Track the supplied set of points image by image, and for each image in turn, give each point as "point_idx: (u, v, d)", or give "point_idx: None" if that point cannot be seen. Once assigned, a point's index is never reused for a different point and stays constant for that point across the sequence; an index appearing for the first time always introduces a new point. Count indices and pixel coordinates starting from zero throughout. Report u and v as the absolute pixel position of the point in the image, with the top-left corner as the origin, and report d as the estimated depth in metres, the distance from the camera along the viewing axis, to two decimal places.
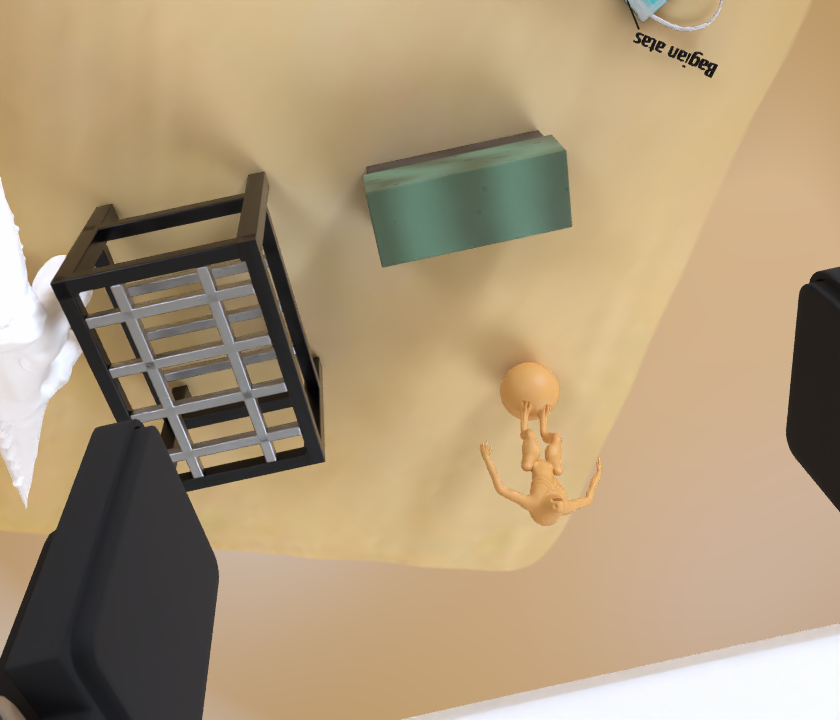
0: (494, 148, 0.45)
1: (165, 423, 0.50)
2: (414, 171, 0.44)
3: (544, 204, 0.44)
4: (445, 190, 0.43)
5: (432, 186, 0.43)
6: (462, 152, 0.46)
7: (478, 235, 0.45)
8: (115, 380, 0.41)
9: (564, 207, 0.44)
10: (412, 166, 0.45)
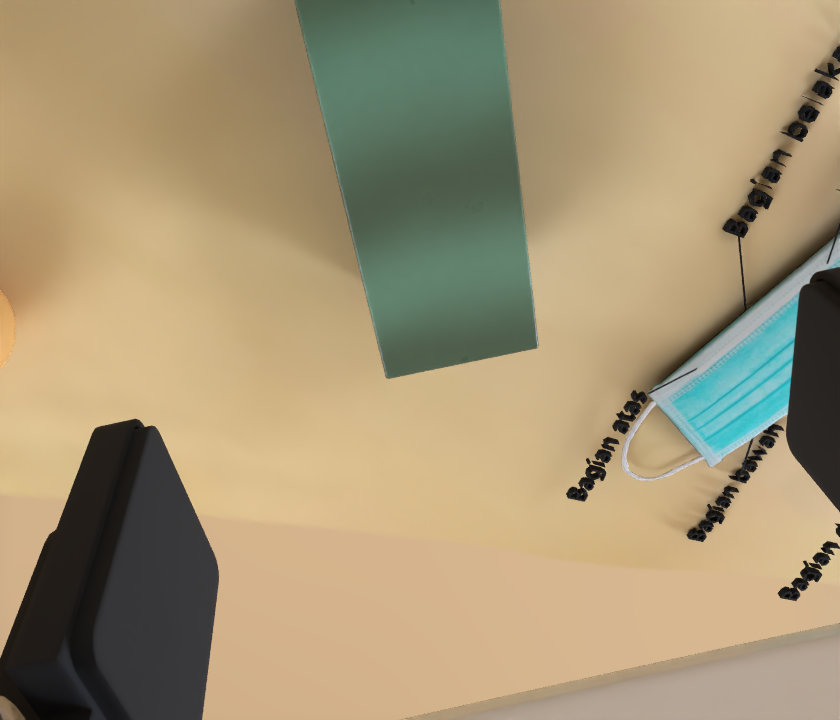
0: None
1: None
2: None
3: (435, 326, 0.22)
4: (482, 124, 0.19)
5: (493, 92, 0.19)
6: None
7: (372, 203, 0.20)
8: None
9: (427, 360, 0.23)
10: None
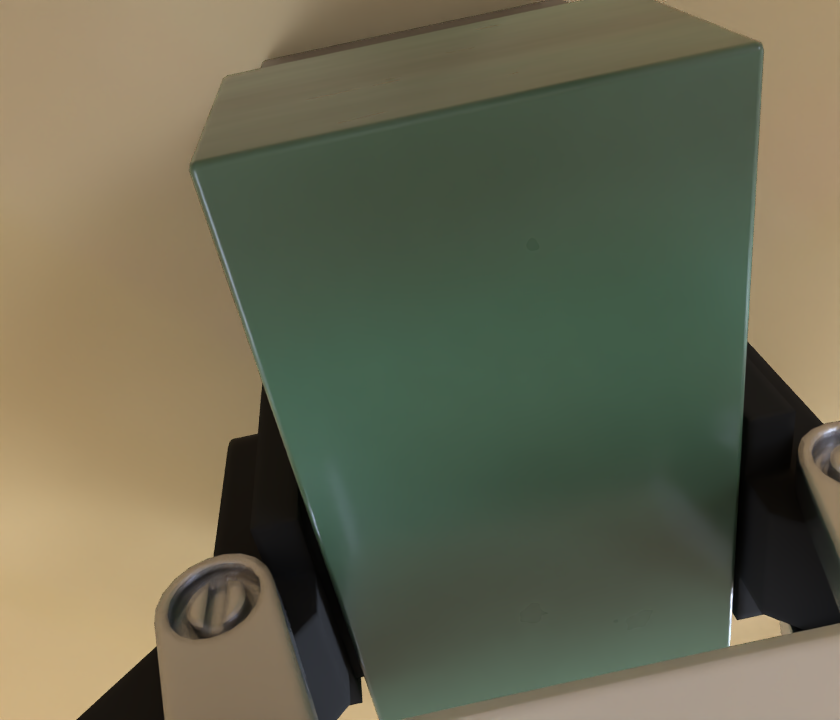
0: None
1: None
2: None
3: None
4: (671, 482, 0.08)
5: (706, 422, 0.08)
6: None
7: (412, 628, 0.09)
8: None
9: None
10: None
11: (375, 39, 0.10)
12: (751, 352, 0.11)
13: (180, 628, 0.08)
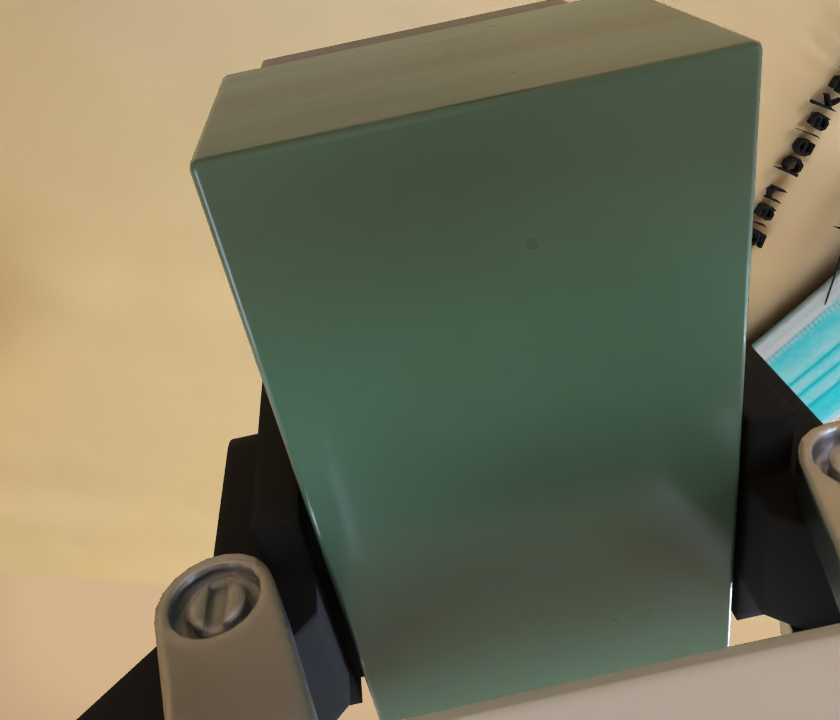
0: None
1: None
2: None
3: None
4: (670, 480, 0.08)
5: (705, 421, 0.08)
6: None
7: (412, 627, 0.09)
8: None
9: None
10: None
11: (375, 39, 0.10)
12: (751, 352, 0.11)
13: (180, 628, 0.08)
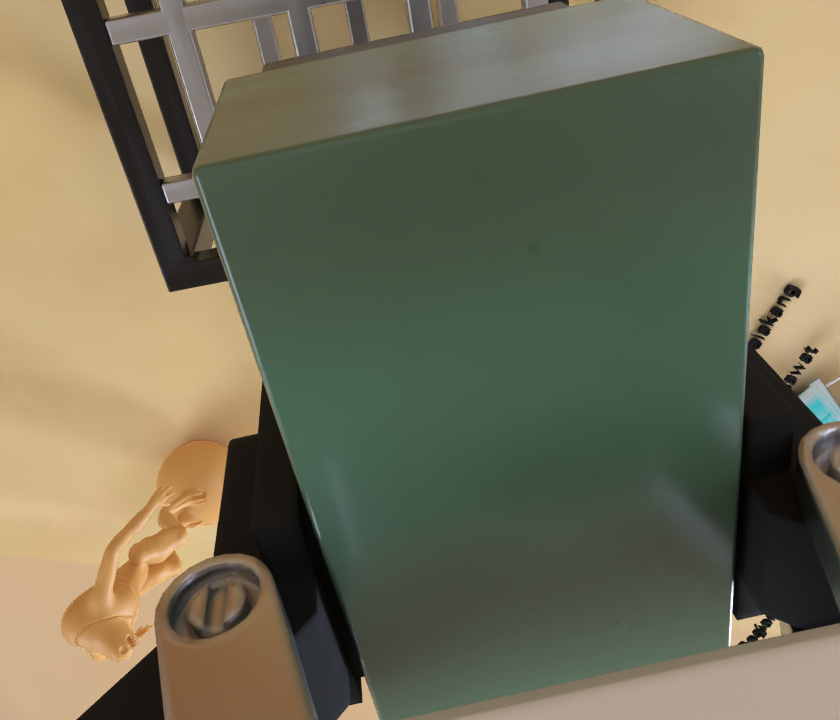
0: None
1: None
2: None
3: None
4: (671, 484, 0.08)
5: (706, 425, 0.08)
6: None
7: (413, 630, 0.09)
8: None
9: None
10: None
11: (376, 42, 0.10)
12: (751, 352, 0.11)
13: (180, 628, 0.08)
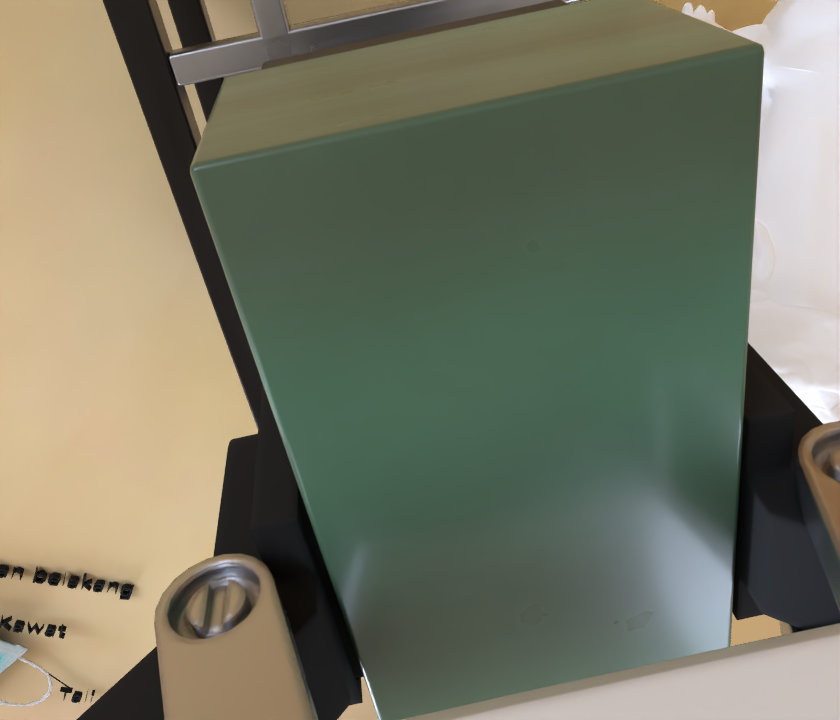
0: None
1: None
2: None
3: None
4: (671, 483, 0.08)
5: (706, 423, 0.08)
6: None
7: (412, 630, 0.09)
8: None
9: None
10: None
11: (375, 40, 0.10)
12: (751, 352, 0.11)
13: (180, 628, 0.08)
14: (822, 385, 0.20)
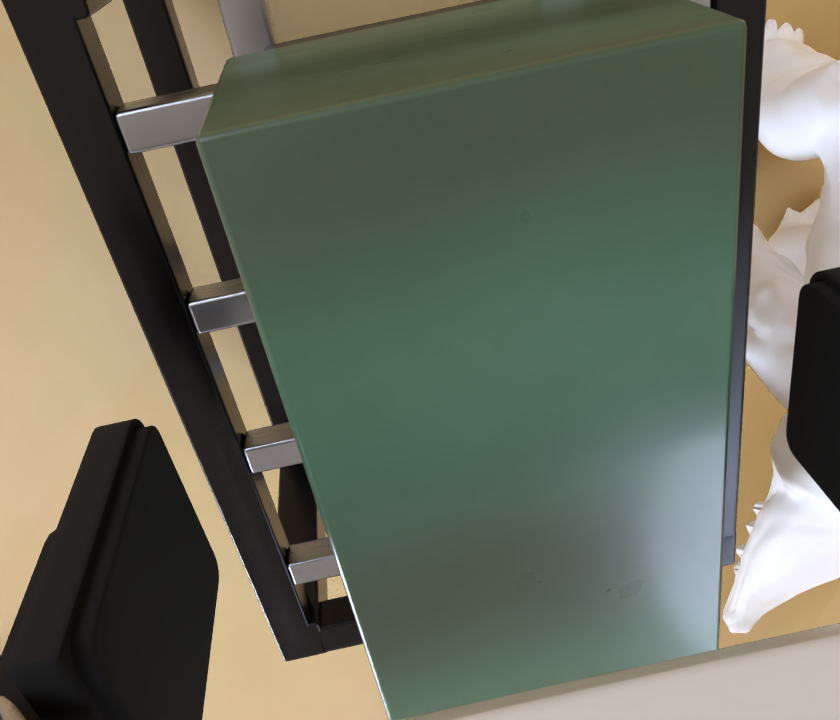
0: None
1: None
2: None
3: None
4: (660, 452, 0.09)
5: (694, 393, 0.08)
6: None
7: (411, 596, 0.09)
8: None
9: None
10: None
11: (374, 25, 0.10)
12: None
13: None
14: None
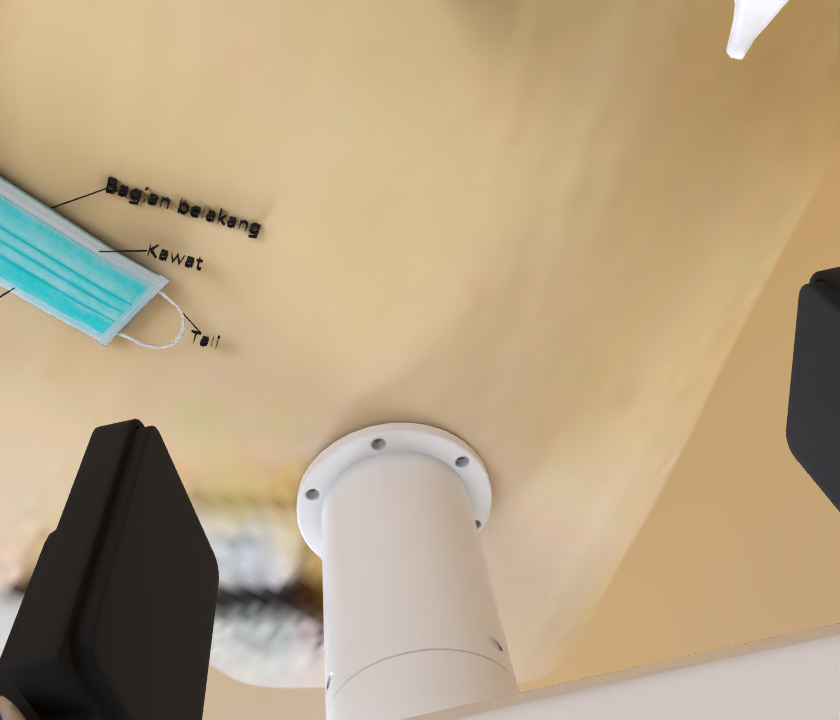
0: None
1: None
2: None
3: None
4: None
5: None
6: None
7: None
8: None
9: None
10: None
11: None
12: None
13: None
14: None
